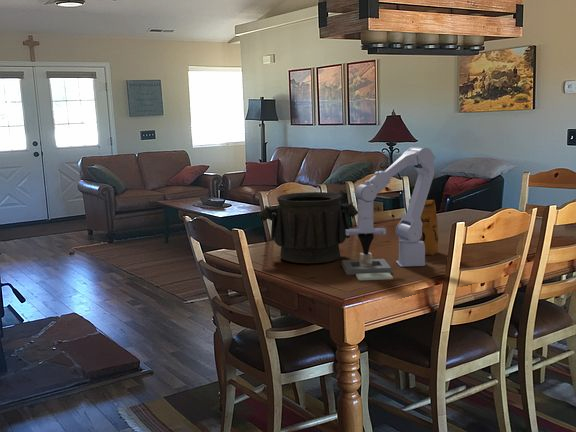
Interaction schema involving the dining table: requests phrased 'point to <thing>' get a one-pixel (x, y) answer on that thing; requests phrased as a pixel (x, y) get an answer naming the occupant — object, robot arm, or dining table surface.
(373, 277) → the green tile
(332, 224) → the vessel
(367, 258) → the cream block
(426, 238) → the coffee package
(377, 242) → the dining table surface
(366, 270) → the holder plate
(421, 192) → the robot arm
